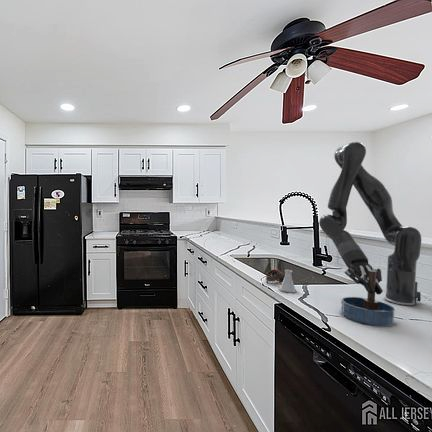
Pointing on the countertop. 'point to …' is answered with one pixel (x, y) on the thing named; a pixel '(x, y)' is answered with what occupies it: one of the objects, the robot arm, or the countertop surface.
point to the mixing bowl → (367, 312)
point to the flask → (288, 282)
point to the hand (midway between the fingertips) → (376, 293)
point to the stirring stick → (370, 300)
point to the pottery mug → (275, 275)
